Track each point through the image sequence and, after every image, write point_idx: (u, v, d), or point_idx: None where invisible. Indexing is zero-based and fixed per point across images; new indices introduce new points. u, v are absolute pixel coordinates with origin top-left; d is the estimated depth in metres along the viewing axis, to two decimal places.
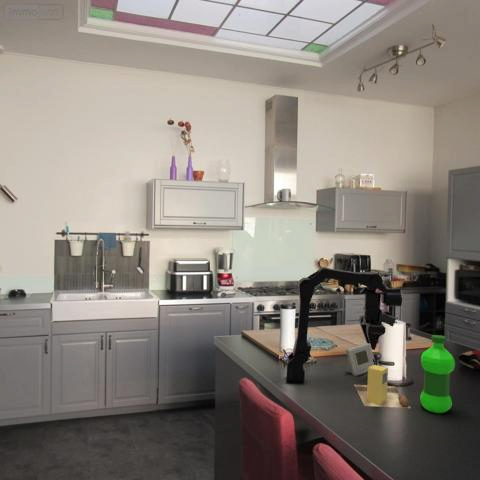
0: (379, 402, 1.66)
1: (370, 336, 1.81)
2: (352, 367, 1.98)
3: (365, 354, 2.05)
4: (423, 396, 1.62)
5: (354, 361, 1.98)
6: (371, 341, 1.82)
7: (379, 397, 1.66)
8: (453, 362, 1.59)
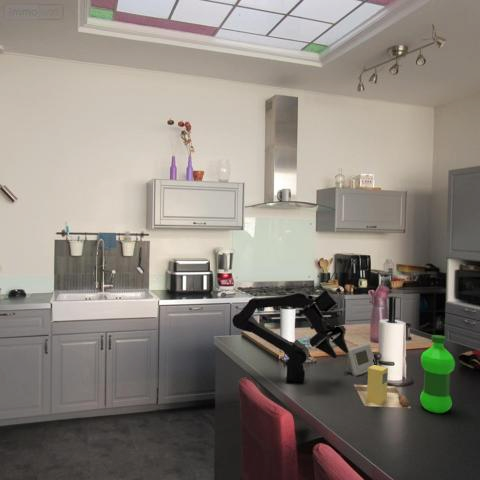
0: (379, 402, 1.66)
1: (321, 348, 1.77)
2: (352, 367, 1.98)
3: (365, 354, 2.04)
4: (423, 396, 1.62)
5: (353, 361, 1.98)
6: (326, 352, 1.77)
7: (379, 397, 1.66)
8: (453, 362, 1.59)
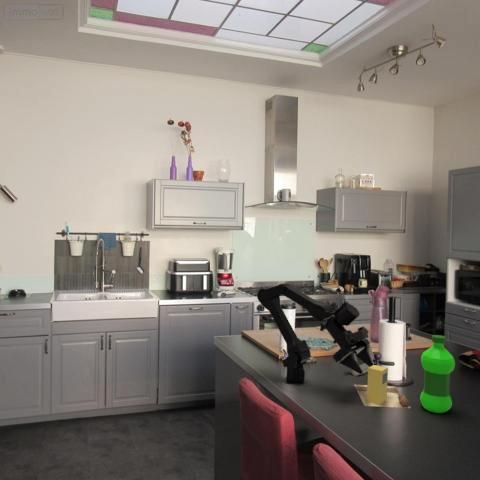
0: (379, 402, 1.66)
1: (346, 364, 1.69)
2: None
3: None
4: (423, 396, 1.62)
5: None
6: (351, 367, 1.68)
7: (379, 397, 1.66)
8: (453, 362, 1.59)
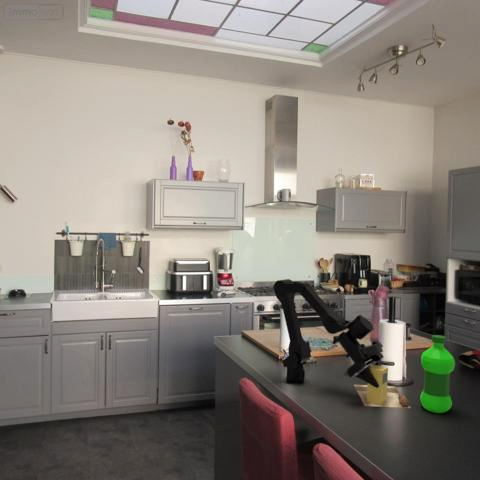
0: (379, 402, 1.66)
1: (362, 377, 1.67)
2: None
3: None
4: (423, 396, 1.62)
5: None
6: (368, 381, 1.67)
7: (379, 397, 1.66)
8: (453, 362, 1.59)
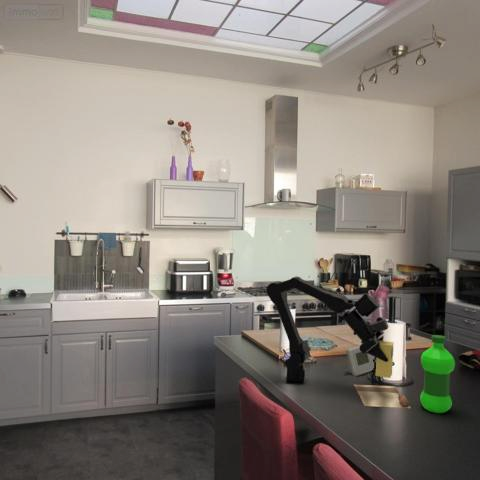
0: (388, 375, 1.73)
1: (372, 353, 1.73)
2: (352, 367, 1.97)
3: (365, 355, 2.04)
4: (423, 396, 1.62)
5: (353, 361, 1.98)
6: (377, 356, 1.73)
7: (389, 370, 1.73)
8: (453, 362, 1.59)
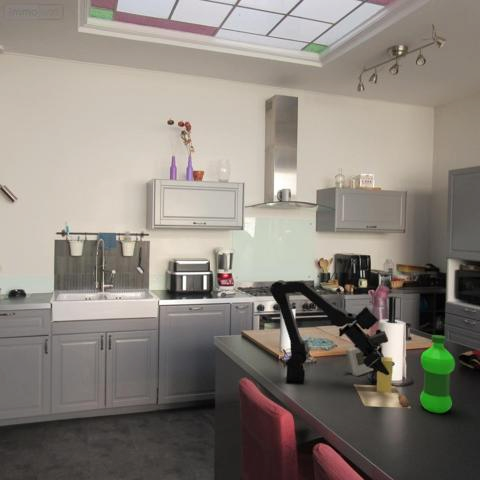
0: (389, 391, 1.77)
1: (374, 367, 1.75)
2: (352, 367, 1.97)
3: None
4: (423, 396, 1.62)
5: (353, 361, 1.97)
6: (379, 370, 1.75)
7: (390, 386, 1.77)
8: (453, 362, 1.59)
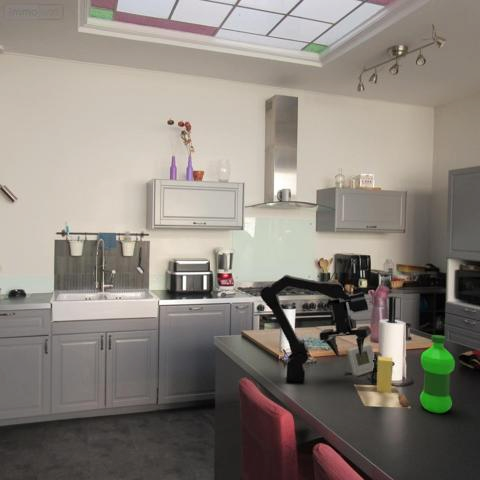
0: (389, 391, 1.77)
1: (361, 342, 1.82)
2: (352, 368, 1.97)
3: (365, 355, 2.03)
4: (423, 396, 1.62)
5: (353, 361, 1.97)
6: (361, 346, 1.83)
7: (390, 386, 1.77)
8: (453, 362, 1.59)
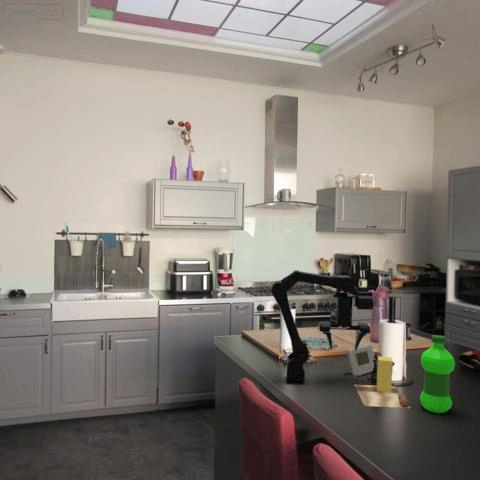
0: (389, 391, 1.77)
1: None
2: (352, 368, 1.97)
3: (366, 355, 2.03)
4: (423, 396, 1.62)
5: (353, 361, 1.97)
6: None
7: (390, 386, 1.77)
8: (453, 362, 1.59)
